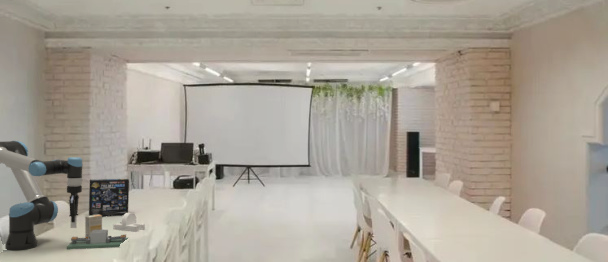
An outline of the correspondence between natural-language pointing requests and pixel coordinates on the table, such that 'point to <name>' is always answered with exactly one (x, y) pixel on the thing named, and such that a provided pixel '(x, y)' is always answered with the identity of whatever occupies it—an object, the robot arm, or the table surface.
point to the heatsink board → (96, 241)
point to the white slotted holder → (129, 223)
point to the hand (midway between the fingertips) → (73, 227)
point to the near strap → (79, 239)
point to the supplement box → (92, 224)
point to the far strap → (117, 237)
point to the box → (108, 197)
